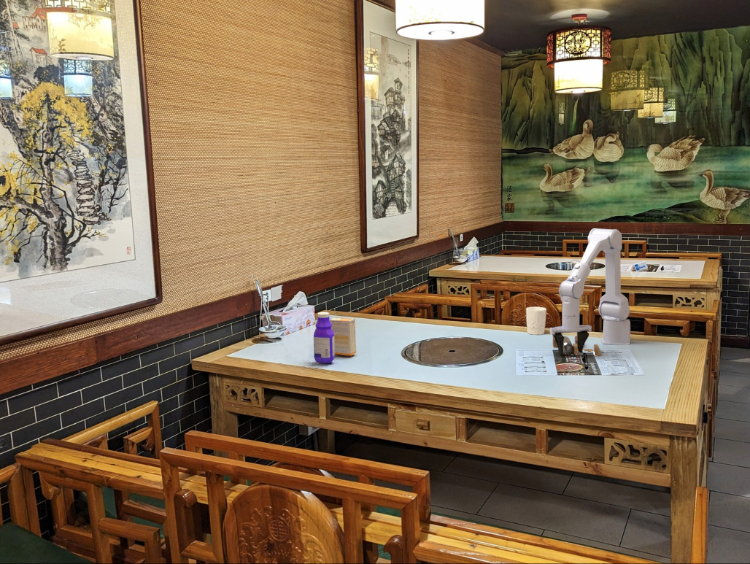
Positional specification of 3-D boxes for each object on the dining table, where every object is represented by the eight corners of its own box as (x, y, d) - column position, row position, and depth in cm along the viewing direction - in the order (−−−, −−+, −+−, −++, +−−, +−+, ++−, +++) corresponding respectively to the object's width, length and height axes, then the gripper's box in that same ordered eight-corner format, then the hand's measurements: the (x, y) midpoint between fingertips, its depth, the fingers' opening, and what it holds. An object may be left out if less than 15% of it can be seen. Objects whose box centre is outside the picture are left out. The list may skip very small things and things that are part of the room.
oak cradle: (597, 351, 242) (597, 344, 241) (600, 357, 233) (600, 350, 232) (572, 350, 243) (572, 343, 243) (574, 356, 235) (574, 349, 234)
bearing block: (580, 344, 251) (580, 336, 251) (581, 349, 245) (582, 340, 244) (552, 343, 254) (552, 335, 253) (553, 348, 247) (553, 339, 246)
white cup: (547, 335, 267) (548, 310, 265) (527, 335, 267) (528, 310, 265) (543, 330, 275) (543, 306, 273) (524, 330, 275) (524, 306, 273)
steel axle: (561, 348, 250) (557, 338, 249) (571, 344, 249) (567, 334, 249) (564, 356, 238) (560, 346, 238) (575, 353, 237) (571, 342, 237)
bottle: (337, 359, 238) (335, 311, 235) (331, 364, 233) (329, 315, 230) (318, 358, 240) (316, 310, 238) (311, 362, 235) (310, 314, 232)
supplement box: (356, 352, 247) (355, 318, 245) (350, 356, 242) (349, 320, 240) (337, 350, 250) (335, 316, 248) (330, 354, 246) (329, 319, 244)
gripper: (585, 311, 239) (584, 348, 241) (546, 313, 237) (546, 351, 239) (594, 315, 232) (593, 353, 234) (554, 318, 230) (554, 356, 232)
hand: (570, 352), depth 236 cm, fingers open, 6 cm apart
